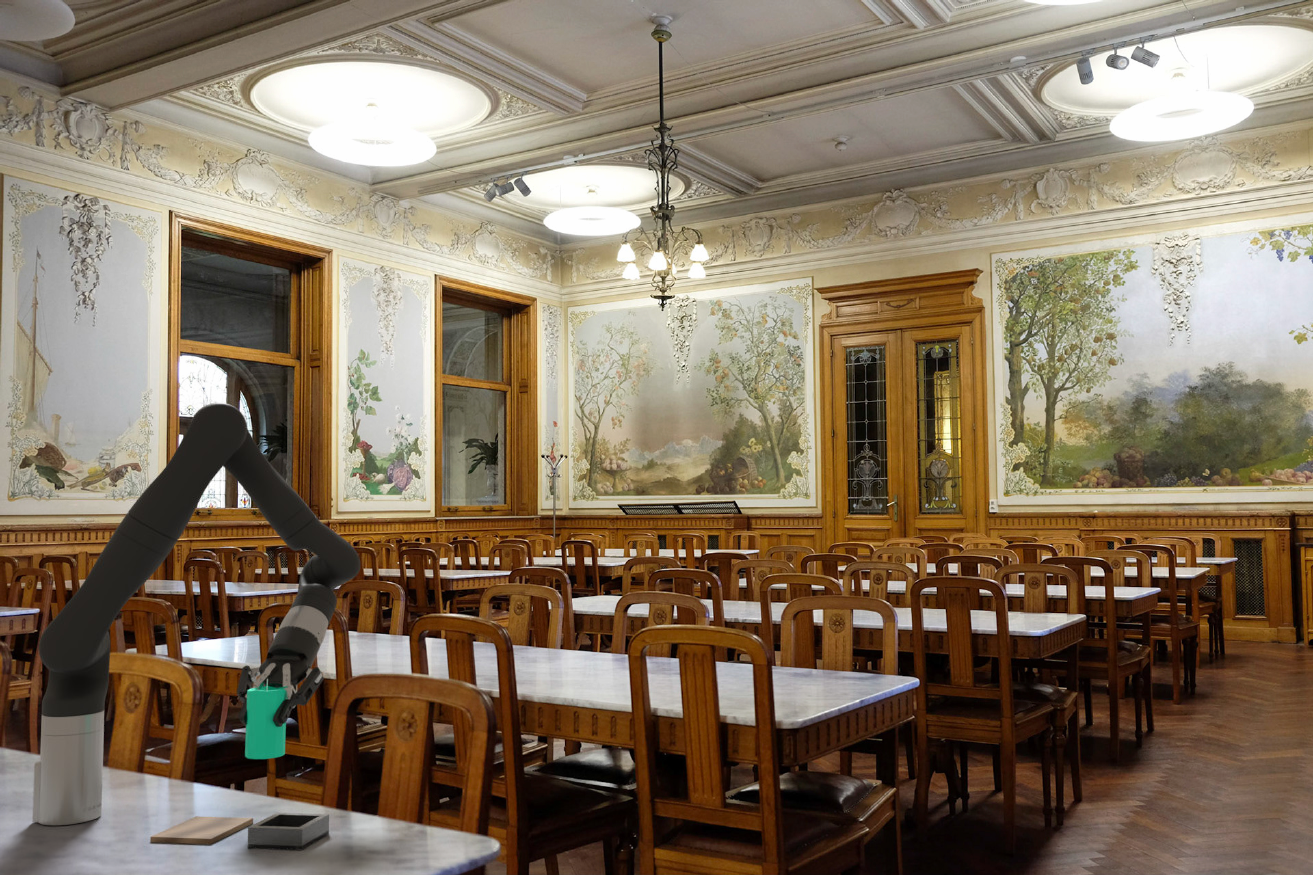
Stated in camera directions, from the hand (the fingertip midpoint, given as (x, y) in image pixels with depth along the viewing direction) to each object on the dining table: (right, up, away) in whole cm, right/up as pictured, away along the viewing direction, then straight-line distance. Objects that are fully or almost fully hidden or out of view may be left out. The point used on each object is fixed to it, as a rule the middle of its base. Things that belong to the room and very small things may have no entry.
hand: (260, 722), depth 174 cm
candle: (0, -6, +1) cm, 6 cm away
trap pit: (+7, -16, -8) cm, 19 cm away
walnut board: (-8, -17, -2) cm, 19 cm away
